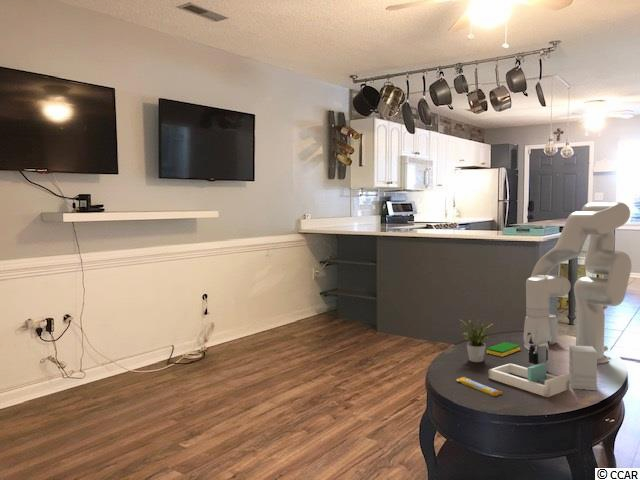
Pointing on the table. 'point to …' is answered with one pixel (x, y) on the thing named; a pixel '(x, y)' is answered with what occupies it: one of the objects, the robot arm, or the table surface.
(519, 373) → the frame
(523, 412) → the table surface
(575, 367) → the supplement box
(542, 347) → the jar
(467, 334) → the house plant
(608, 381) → the table surface
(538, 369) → the pusher
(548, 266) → the robot arm
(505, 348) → the dish sponge
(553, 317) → the can
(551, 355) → the table surface
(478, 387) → the candy bar
